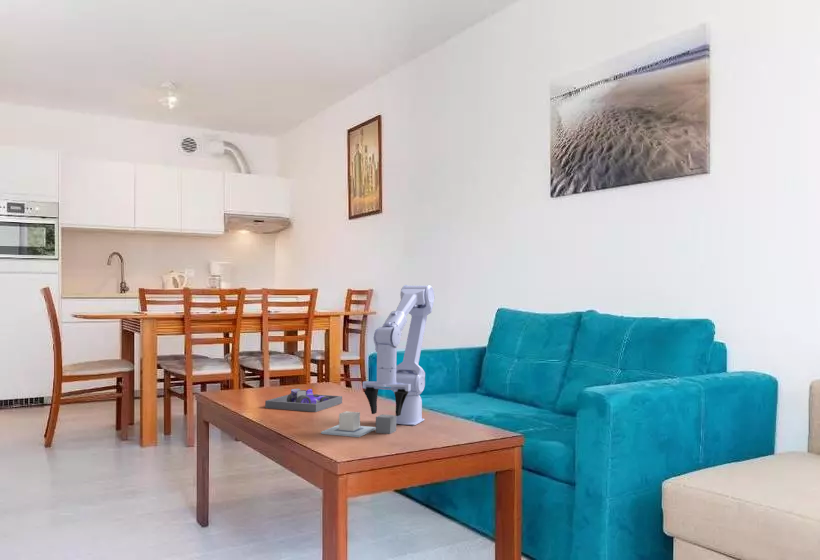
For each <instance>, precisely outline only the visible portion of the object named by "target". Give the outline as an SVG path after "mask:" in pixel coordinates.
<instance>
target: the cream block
mask: <svg viewBox="0 0 820 560" xmlns="http://www.w3.org/2000/svg"><path fill="white" fill-rule="evenodd" d="M338 425H339V430H347V431H355V430H357V429H359V428H360V426H361V412H359V411H357V412H356V411H347V410H346V411H344V412H341V413H340V412H339V414H338Z"/></svg>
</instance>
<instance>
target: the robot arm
mask: <svg viewBox="0 0 820 560" xmlns="http://www.w3.org/2000/svg"><path fill="white" fill-rule="evenodd" d="M434 290H435V289H434V288H433V286H432V285H430V284H428V285H407V284H404V285H403V286H402V287H401V288H400V294H399V295H400V300H399V303H398V305H397V307H396V310H393V311H391V312H390V313H389V314H388V316H387V318H386V320H385V321H384V323H383V324H382V326H379V327H377V328H376V329H375V330H374V334H373V343H374V346H375V347H374V348H375V349H374V350H375V352H376V381H370V380H369V381H366V380H365V381H362V389H363V391H364V395H365V397H366V398H367V401H368V403H369V407H370V411H371V415H375V414H377V412H378V411H377V410H378V394H379V390H387V391H388V390H389V391H390V390H391V391H392V392H393V394H394V397H395V398H394V399H395V415H396V425H405V426H406V425H408V426H416V425H418V424H421V423H422V422H424V421H425V418H423V414H422V413H423V400H422V397H421V396H420V395H421V394H422V393H423V391H424V390H425V386H426V372H425V370H424V369H423V367H422V366H420V365H419V362H420V357H421V352H422V347H423V346H422V345H423V341H424V335H425V331H426V325H427V319H428V315H430V314H432V312H433V307H434V302H435V291H434ZM408 315H410V316H411V319H410V324H409V329H408V334H407V338H406V344H405V348H404V349H405V350H404V354H403V359H402V362H400V363H399V364H397V350H398V349H397V347H399V345H400V343H401V337H402V331H403V330H404V328H405V326H406V324H407V323H408V318H407V316H408Z"/></svg>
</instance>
